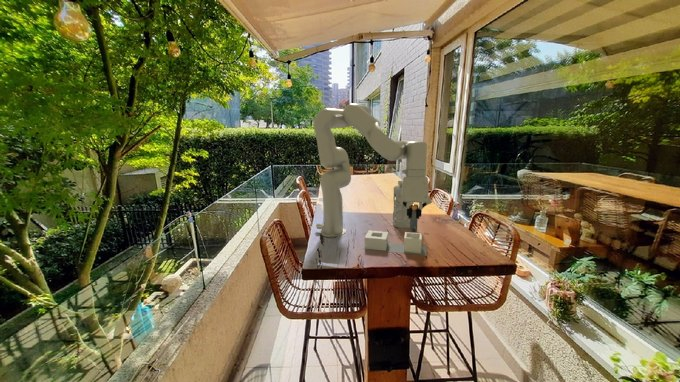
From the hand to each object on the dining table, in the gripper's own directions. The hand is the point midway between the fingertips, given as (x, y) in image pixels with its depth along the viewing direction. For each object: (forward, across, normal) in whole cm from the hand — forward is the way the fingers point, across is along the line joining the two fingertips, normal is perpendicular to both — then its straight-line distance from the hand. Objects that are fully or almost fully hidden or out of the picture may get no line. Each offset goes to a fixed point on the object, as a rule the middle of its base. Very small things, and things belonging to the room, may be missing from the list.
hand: (413, 217), depth 109 cm
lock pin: (+6, 0, 0) cm, 6 cm away
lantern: (+15, -6, +31) cm, 35 cm away
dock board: (+15, -8, 0) cm, 17 cm away
